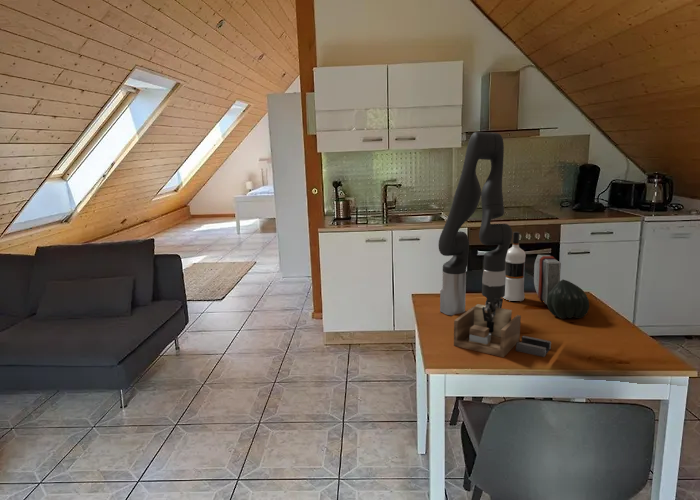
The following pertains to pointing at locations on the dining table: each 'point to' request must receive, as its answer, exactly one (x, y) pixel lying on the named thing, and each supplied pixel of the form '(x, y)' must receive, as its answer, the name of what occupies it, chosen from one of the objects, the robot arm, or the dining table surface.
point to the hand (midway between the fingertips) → (491, 329)
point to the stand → (533, 346)
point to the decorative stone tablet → (546, 275)
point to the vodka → (515, 271)
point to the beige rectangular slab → (499, 319)
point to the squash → (567, 300)
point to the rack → (497, 344)
